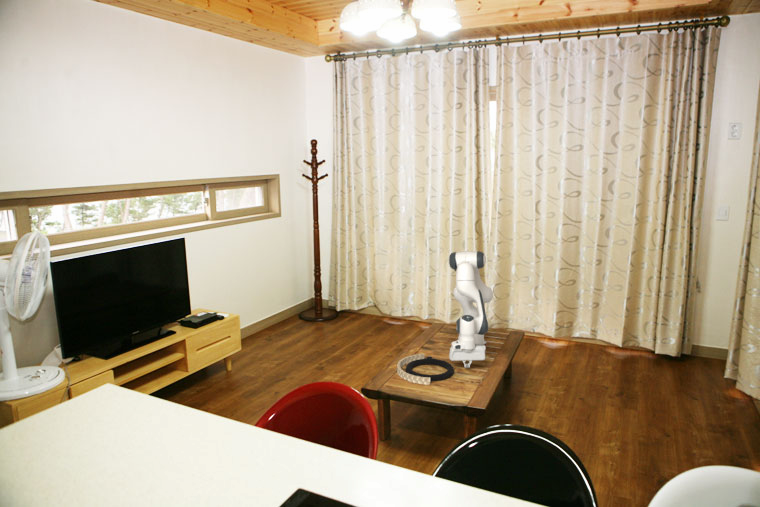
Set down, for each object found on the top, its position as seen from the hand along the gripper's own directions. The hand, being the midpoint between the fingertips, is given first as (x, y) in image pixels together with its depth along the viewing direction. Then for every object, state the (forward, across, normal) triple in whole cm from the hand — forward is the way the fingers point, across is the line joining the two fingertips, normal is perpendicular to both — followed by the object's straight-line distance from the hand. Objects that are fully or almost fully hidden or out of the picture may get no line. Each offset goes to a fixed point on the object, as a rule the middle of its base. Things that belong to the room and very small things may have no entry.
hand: (467, 367), depth 296 cm
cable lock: (+2, +21, 0) cm, 22 cm away
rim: (+2, +31, 0) cm, 31 cm away
